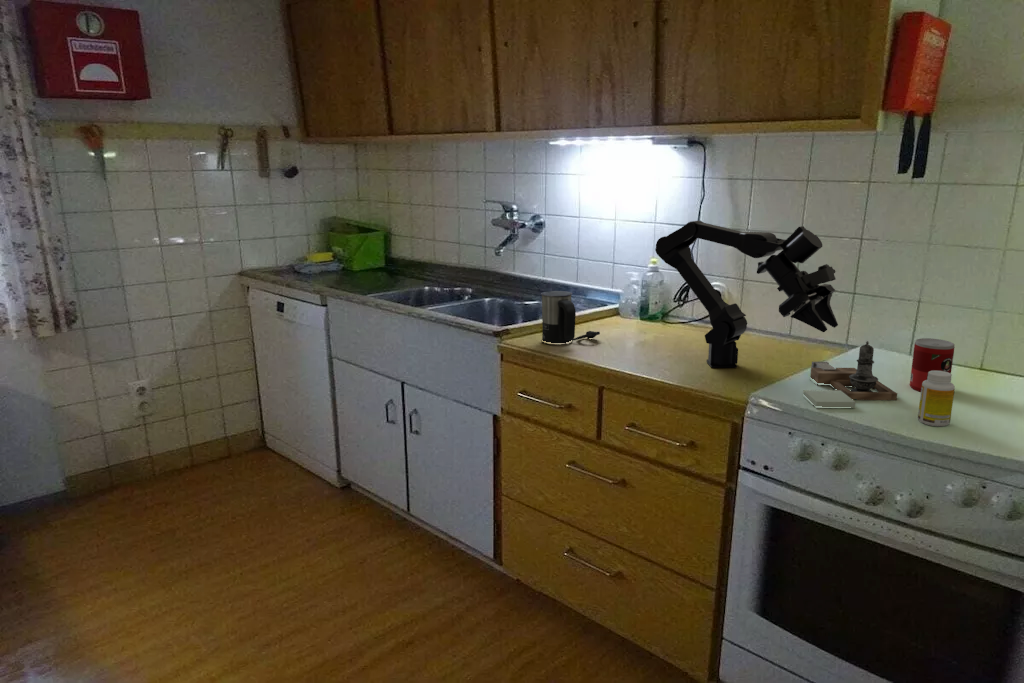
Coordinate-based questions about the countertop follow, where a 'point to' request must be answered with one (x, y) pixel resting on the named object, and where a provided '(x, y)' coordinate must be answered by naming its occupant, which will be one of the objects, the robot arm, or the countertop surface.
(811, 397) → the grey square slab
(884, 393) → the brown wooden tray
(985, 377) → the countertop surface
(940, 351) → the canned food
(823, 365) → the key bar
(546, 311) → the milk frother
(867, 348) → the dark grey tall figure
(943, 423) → the supplement bottle
